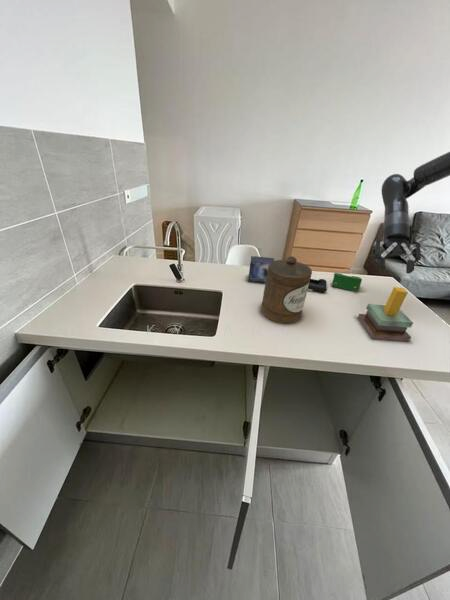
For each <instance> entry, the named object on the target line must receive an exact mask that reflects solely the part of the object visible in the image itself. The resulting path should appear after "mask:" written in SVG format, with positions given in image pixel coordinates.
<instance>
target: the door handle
mask: <svg viewBox="0 0 450 600" xmlns="http://www.w3.org/2000/svg"><path fill="white" fill-rule="evenodd" d="M327 283H328V281H327V280H326V279H324V278H319V279H314V278H310V281H309V286H308V290H307V291H310V292H313V291H315V292H318V293H319V292H320V293H325V292H327V290H328V289H327Z"/></svg>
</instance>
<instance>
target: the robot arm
mask: <svg viewBox="0 0 450 600" xmlns="http://www.w3.org/2000/svg"><path fill="white" fill-rule="evenodd" d="M448 177H450V151H448V152H446V153H444V154H441V155H439V156H437V157H434V158H433V159H431V160H429V161H427V162H425V163H423V164H421V165H419V166H418V167H416V168H415V169H414V170H413V177H411V178H410V179H409V180H407V179H406V178H405V177H404V176H403V175H402V174H399V173H393V174H390V175H389V176H387V177H386V179H385V180H384V181H383V183H382V185H381V189H380V190H381V197H382V202H383V206H384V217H383V218H384V219H383V227H382V229H383V230H382V233H383V235H382V241H381V239H377V240H375V242H373V243H372V251H371V253H372V254H371V258H373V259H376V260H377V268H378V269H379V271H383V270H385V269H386V258H385V257H386V256H387V255H389V256H396V257H400V258H401V259H402V260H404V261H405V264H406V265H405V267H406V268H405V271H406V274H412V273H413V272H414V271H415V263H417V262H418V261H420V260H422V254H421V253H422V252H421V245H420V243H419V242H418V243H416V244H411V243H410V236H411V235H410V234H411V230H410V227H411V226H410V225H411V224H410V222H411V221H410V215H409V208H410V207H409V201H408V200H407V199H409V198H410V197H412V196H413V195H415V194H416V193H418V192H419V191H421V190H422V189H424V188H425V187H427V186H429V185H431V184H434V183H436V182H438V181H441V180H443V179H447V178H448ZM381 247H382V248H383V249H384V251H383V252H382V253H380V252H381V251H380V249H381Z"/></svg>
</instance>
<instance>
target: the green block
mask: <svg viewBox="0 0 450 600" xmlns="http://www.w3.org/2000/svg"><path fill="white" fill-rule="evenodd" d="M362 281H363V279H362V278H361V277H360V276H355V275H352V276H351V275H345V274H343V273H339V272H334V274H333V278H332V281H331V284H332V286H333V287H334V288H339V289H344V290H348V291H353V292H357V291H359V290H360V287H361V285H362Z"/></svg>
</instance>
